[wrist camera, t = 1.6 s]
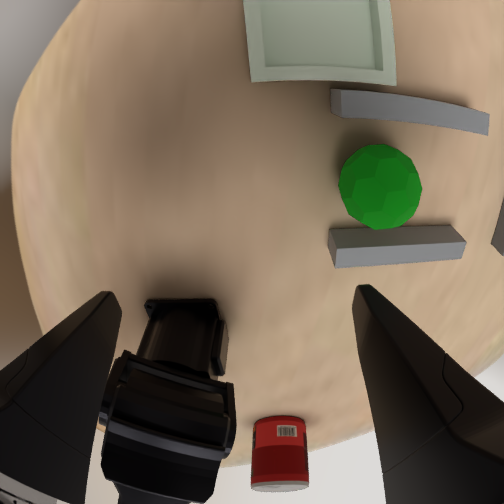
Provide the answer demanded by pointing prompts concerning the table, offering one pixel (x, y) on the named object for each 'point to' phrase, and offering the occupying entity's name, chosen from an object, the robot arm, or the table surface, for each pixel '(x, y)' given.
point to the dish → (321, 40)
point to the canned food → (279, 455)
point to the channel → (409, 237)
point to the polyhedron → (380, 186)
